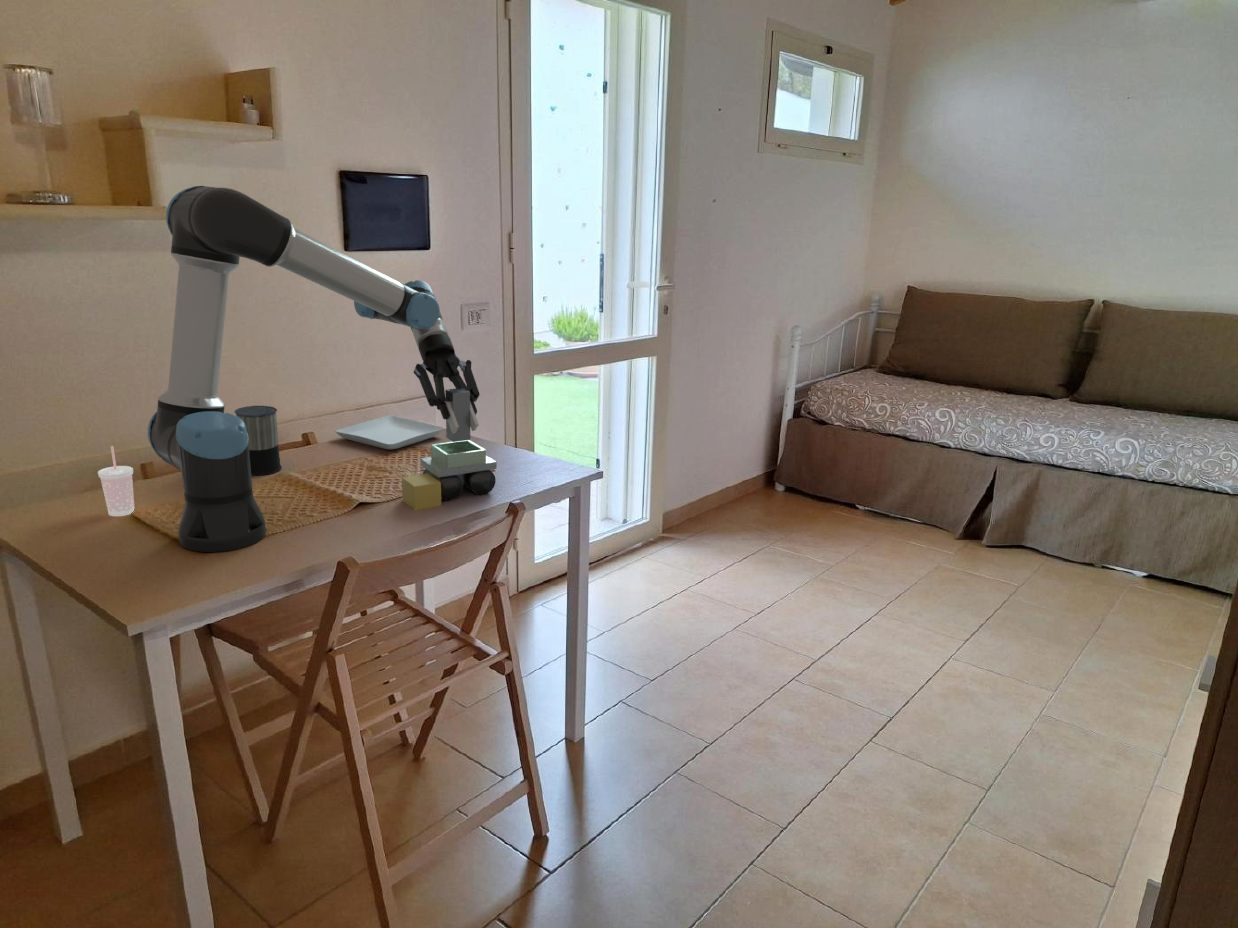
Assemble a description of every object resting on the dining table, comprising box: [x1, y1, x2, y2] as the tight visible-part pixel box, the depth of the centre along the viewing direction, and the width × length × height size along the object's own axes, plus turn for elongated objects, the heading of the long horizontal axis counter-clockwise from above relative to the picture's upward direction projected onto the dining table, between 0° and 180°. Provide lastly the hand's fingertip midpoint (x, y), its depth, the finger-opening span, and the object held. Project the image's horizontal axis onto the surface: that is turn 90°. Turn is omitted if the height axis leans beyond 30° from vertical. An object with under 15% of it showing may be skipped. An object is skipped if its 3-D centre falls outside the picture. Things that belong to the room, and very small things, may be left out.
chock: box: [401, 473, 442, 511], centre depth 180 cm, size 6×7×6 cm
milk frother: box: [233, 405, 283, 476], centre depth 193 cm, size 14×16×15 cm
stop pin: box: [444, 388, 472, 442], centre depth 183 cm, size 4×4×11 cm
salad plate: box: [335, 414, 445, 450], centre depth 226 cm, size 21×21×3 cm
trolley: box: [420, 440, 498, 502], centre depth 187 cm, size 14×10×11 cm
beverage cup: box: [97, 445, 135, 517], centre depth 166 cm, size 6×6×14 cm
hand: (465, 428), depth 181 cm, fingers closed on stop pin, 4 cm apart
